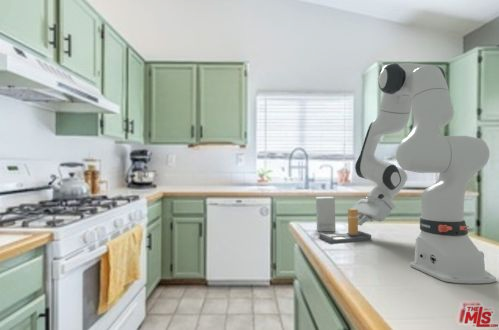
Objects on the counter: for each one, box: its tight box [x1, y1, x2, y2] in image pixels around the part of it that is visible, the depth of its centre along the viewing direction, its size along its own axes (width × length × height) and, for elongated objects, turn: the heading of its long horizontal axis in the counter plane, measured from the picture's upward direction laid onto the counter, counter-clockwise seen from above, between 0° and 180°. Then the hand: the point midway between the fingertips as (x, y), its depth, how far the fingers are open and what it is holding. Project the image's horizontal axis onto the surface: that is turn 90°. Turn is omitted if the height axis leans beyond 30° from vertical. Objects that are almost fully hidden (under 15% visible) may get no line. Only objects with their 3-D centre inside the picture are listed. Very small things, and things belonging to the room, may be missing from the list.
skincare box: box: [315, 196, 337, 233], centre depth 163 cm, size 8×7×16 cm
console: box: [319, 230, 372, 244], centre depth 144 cm, size 18×10×2 cm, turn 104°
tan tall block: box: [347, 208, 359, 236], centre depth 145 cm, size 4×4×11 cm
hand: (357, 224), depth 145 cm, fingers closed, pressing on tan tall block
